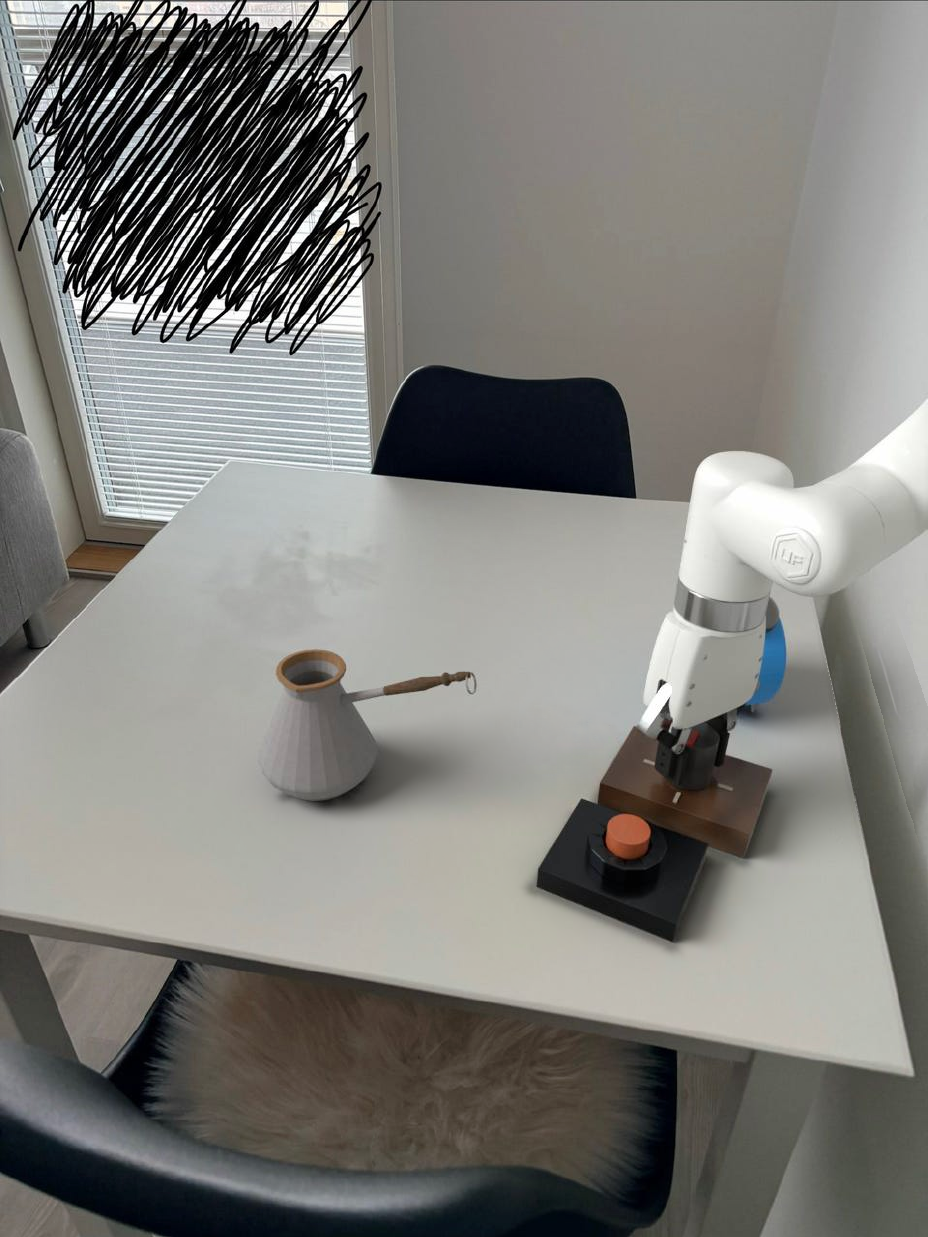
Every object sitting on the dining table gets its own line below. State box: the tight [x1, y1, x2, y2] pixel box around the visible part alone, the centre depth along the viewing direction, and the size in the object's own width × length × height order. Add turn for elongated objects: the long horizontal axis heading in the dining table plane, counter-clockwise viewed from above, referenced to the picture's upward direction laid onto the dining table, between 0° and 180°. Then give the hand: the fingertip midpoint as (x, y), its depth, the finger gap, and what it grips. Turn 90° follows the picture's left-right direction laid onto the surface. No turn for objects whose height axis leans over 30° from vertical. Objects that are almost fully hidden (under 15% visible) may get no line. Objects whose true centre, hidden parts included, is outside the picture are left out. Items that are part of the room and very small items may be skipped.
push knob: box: [606, 814, 651, 859], centre depth 74 cm, size 4×4×2 cm
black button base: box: [536, 797, 709, 943], centre depth 76 cm, size 12×10×4 cm
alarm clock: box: [745, 596, 787, 713], centre depth 96 cm, size 13×6×15 cm, turn 11°
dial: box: [668, 722, 720, 790], centre depth 82 cm, size 4×4×5 cm
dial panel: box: [596, 725, 773, 859], centre depth 84 cm, size 14×10×3 cm
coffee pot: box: [258, 648, 478, 802], centre depth 82 cm, size 21×12×15 cm, turn 76°
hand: (688, 766), depth 83 cm, fingers closed on dial, 4 cm apart
